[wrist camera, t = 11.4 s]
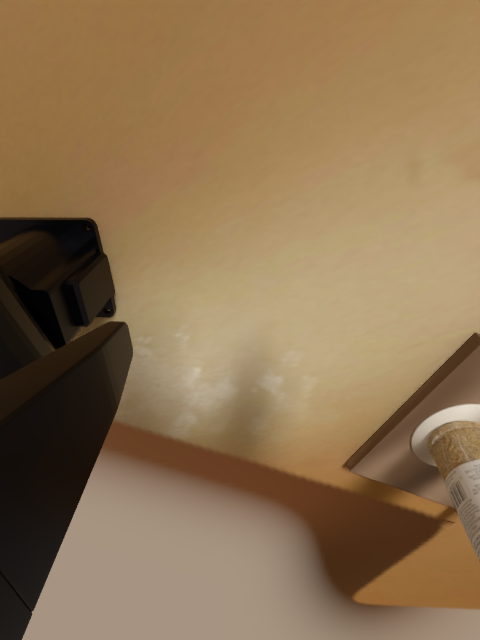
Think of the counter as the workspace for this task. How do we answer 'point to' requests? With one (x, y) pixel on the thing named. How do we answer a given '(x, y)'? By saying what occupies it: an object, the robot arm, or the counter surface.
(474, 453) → the sprinkles bottle
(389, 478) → the corner arena
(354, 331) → the counter surface
